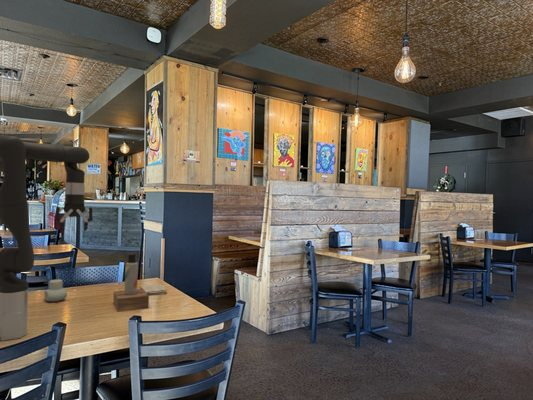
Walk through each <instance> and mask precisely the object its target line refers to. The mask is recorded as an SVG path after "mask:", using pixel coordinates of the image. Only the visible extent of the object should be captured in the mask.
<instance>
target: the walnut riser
mask: <svg viewBox="0 0 533 400" xmlns="http://www.w3.org/2000/svg"><path fill="white" fill-rule="evenodd" d="M149 298H150V296H148V294H147V293H146V292H145V291H144V290H143V289H140V288H137V294H135V295H125V290H119V291H113V306H114V309H115V310H116V313H118V312H127V311H129V312H130V311H137V310H145V309H149V303H150V302H149V301H150V299H149Z"/></svg>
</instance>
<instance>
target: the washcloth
mask: <svg viewBox="0 0 533 400" xmlns="http://www.w3.org/2000/svg"><path fill="white" fill-rule="evenodd" d="M139 289H143V290H144V291H145V292H146V293H147V294H148V296H149V297H150V296H159V295H166V294H167V292H166V291H167V289H166V286H164V285H162V284H161V283H153V284H152V283H151V284H144V285H139Z"/></svg>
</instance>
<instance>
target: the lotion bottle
mask: <svg viewBox="0 0 533 400" xmlns="http://www.w3.org/2000/svg"><path fill="white" fill-rule="evenodd" d="M124 269H125V270H124V271H125V272H124V274H125V275H124V291H125V295H135V294H137V290H138V274H139V271H138V270H139V263H138V262H137V253H136V252H129V253H127V262H125V268H124Z"/></svg>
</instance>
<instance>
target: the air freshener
mask: <svg viewBox="0 0 533 400" xmlns="http://www.w3.org/2000/svg"><path fill="white" fill-rule="evenodd" d="M63 284H64V282H63V280H62V279H59V278H58V279H51V280H50V281H48V289H46V290H45V291H44V294H43V296H44V300H45V301H47V302H50V303H53V302H54V303H55V302H61V301H63V300H65V299H66V298H67V297H68V295H67V294H68V292H67V290H66V288H65V287H63Z"/></svg>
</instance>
